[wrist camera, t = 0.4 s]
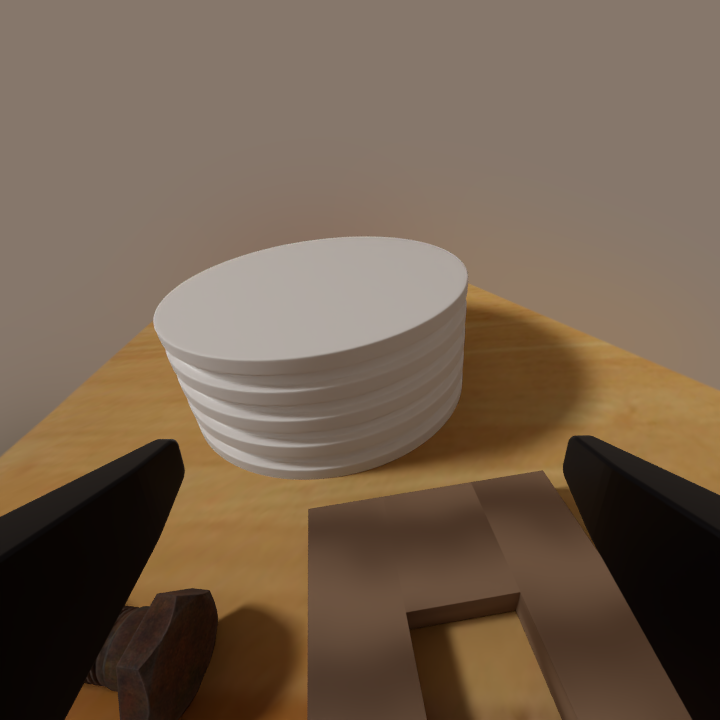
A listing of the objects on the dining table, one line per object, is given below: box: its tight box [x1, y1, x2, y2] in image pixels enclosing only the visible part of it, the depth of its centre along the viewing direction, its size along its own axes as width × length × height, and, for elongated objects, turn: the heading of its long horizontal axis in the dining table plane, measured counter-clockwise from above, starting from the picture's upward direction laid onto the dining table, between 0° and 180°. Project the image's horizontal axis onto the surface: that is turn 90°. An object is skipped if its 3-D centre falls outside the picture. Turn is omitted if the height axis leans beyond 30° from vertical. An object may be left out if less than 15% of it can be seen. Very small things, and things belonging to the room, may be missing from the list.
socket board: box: [308, 471, 692, 720], centre depth 17 cm, size 20×16×2 cm
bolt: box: [84, 588, 218, 720], centre depth 20 cm, size 6×5×15 cm
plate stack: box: [154, 237, 468, 480], centre depth 38 cm, size 28×28×12 cm
